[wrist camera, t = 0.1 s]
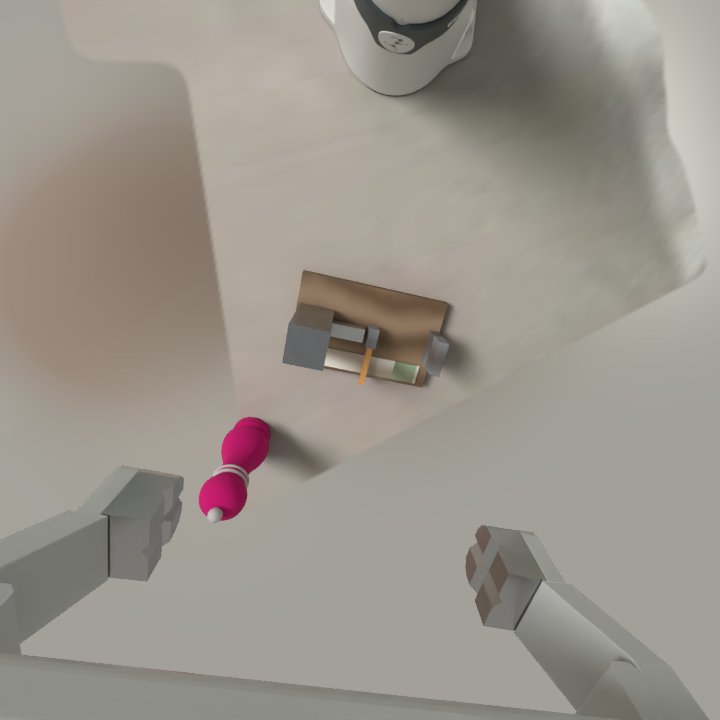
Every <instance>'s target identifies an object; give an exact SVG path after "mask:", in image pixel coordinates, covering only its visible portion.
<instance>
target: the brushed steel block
mask: <svg viewBox="0 0 720 720" xmlns="http://www.w3.org/2000/svg"><path fill="white" fill-rule="evenodd" d="M333 315H334V310H331V309H327V308H322V307H317V306H313V305H308V304H304V303H300V305H299V307H298V309H297V310H296V312H295V314H294V316H293V317H292V319H291V321H290V323H289V326H288V332H287V338H286V344H285V350H284V356H283V362H282V363H285V364H290V365H295V366H301V367H306V368H311V369H316V370H321V371H323V369H324V364H325V359H326V354H327V349H328V345H329V340H330V336H331V337H336V338H341V339H346V340H350V341H355V342H360V343H362V342H363V338H364V334H365V327H364V326H359V325H355V324H350V323H345V322H341V321H336V320H333Z"/></svg>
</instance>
